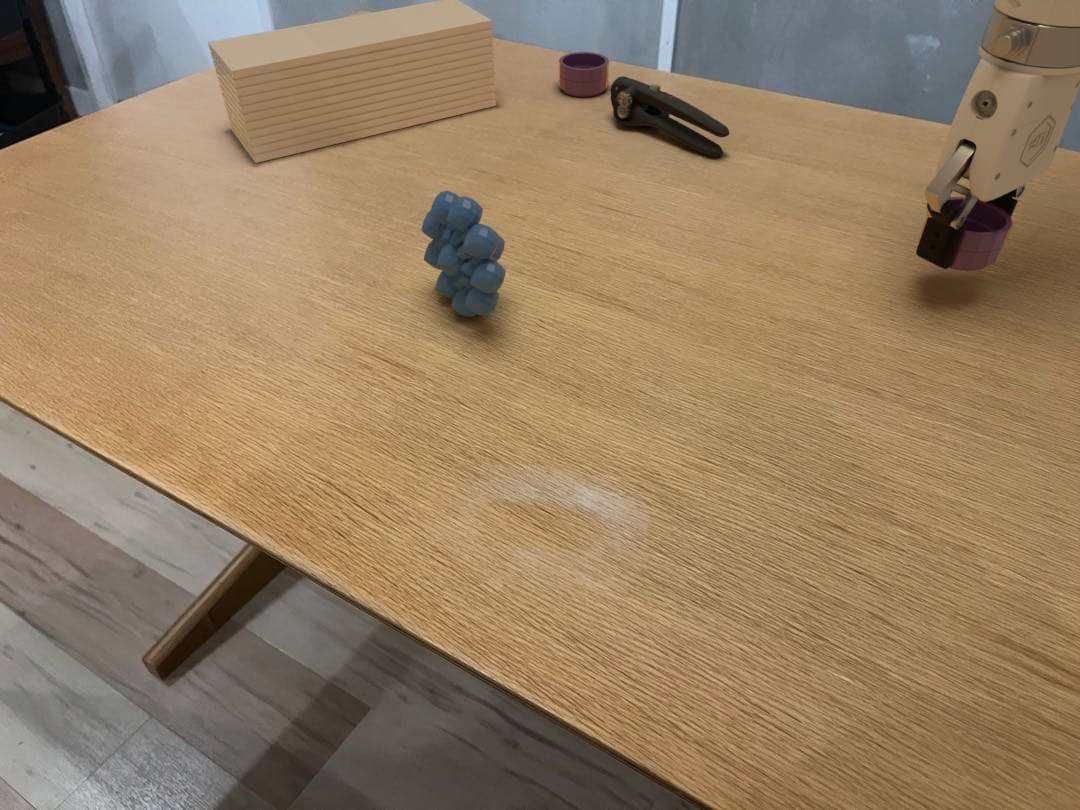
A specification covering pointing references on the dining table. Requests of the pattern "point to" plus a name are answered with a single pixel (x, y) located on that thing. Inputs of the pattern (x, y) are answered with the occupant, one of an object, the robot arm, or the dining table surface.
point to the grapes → (464, 254)
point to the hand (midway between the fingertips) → (959, 246)
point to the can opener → (664, 114)
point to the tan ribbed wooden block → (354, 76)
